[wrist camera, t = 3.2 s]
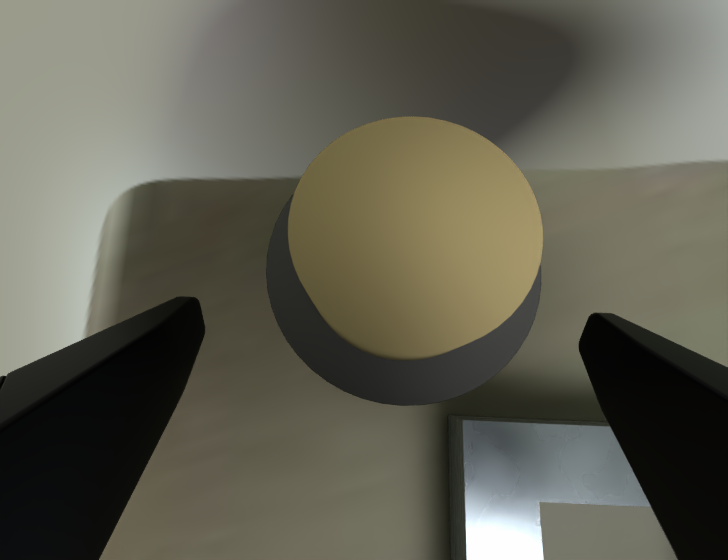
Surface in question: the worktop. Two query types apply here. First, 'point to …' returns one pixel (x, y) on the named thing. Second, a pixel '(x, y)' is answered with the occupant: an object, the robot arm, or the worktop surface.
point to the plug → (407, 262)
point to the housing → (527, 480)
